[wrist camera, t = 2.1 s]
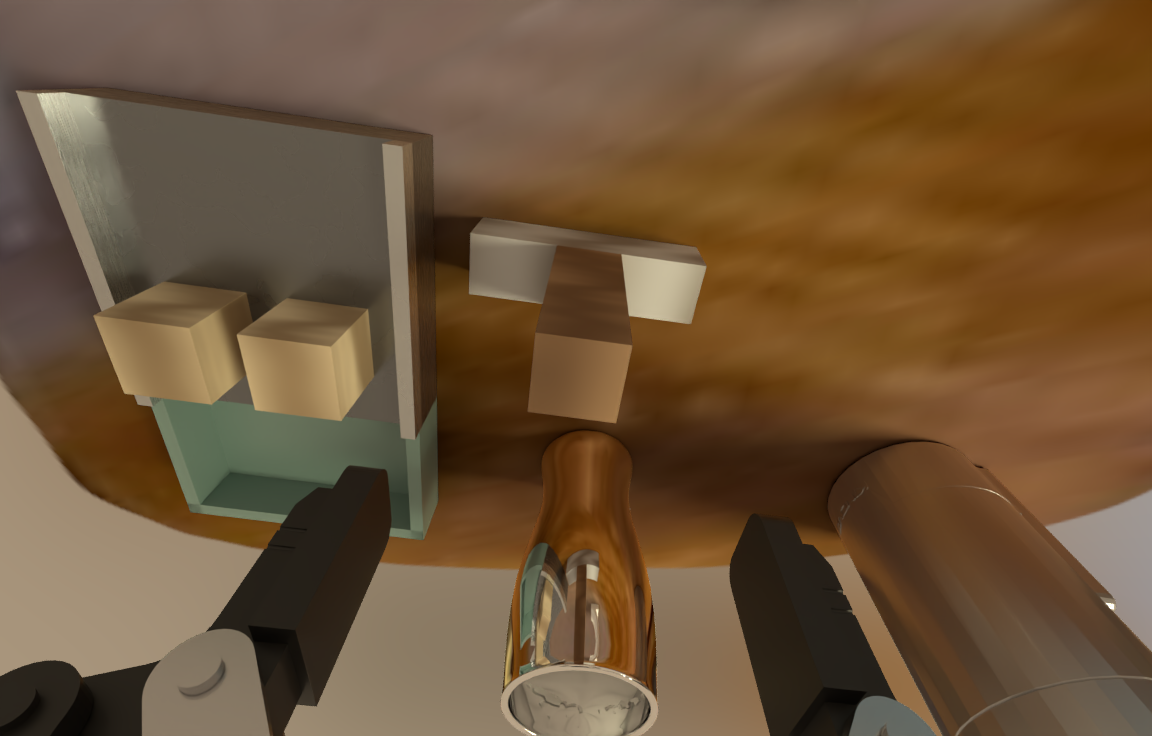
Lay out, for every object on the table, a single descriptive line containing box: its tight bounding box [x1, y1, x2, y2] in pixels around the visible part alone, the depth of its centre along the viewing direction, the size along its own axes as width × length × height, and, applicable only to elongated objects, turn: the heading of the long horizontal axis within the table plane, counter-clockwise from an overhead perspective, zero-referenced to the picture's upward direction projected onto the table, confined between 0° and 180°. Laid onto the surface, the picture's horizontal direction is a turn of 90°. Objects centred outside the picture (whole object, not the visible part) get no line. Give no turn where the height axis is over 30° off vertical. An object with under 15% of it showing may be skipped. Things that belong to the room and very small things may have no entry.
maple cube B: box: [93, 282, 253, 405], centre depth 24 cm, size 4×4×4 cm
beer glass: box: [500, 430, 659, 736], centre depth 27 cm, size 7×7×15 cm
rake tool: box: [469, 217, 706, 423], centre depth 21 cm, size 11×3×12 cm, turn 83°
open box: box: [16, 88, 437, 440], centre depth 25 cm, size 15×15×4 cm
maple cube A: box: [237, 298, 374, 421], centre depth 24 cm, size 4×4×4 cm
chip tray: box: [151, 398, 438, 540], centre depth 32 cm, size 15×9×4 cm, turn 83°
